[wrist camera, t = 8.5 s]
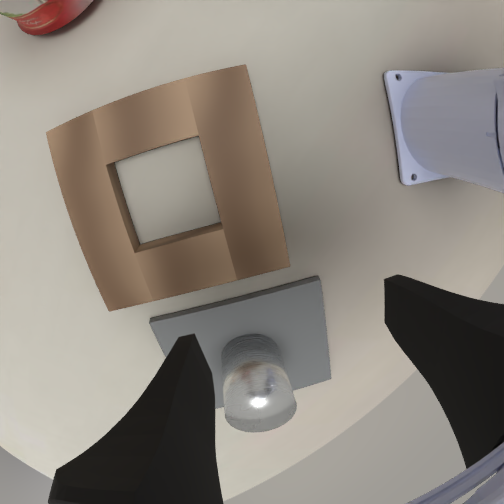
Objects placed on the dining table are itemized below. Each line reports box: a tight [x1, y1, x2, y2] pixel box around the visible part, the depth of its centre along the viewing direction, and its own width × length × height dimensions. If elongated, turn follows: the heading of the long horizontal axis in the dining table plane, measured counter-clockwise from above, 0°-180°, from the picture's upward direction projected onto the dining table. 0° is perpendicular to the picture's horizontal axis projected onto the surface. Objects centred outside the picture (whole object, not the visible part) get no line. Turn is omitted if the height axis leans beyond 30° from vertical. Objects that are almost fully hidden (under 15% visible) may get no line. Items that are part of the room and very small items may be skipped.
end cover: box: [221, 334, 297, 432], centre depth 19 cm, size 4×4×6 cm
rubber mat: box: [149, 276, 331, 409], centre depth 22 cm, size 12×10×1 cm
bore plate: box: [46, 65, 290, 311], centre depth 17 cm, size 12×12×2 cm
